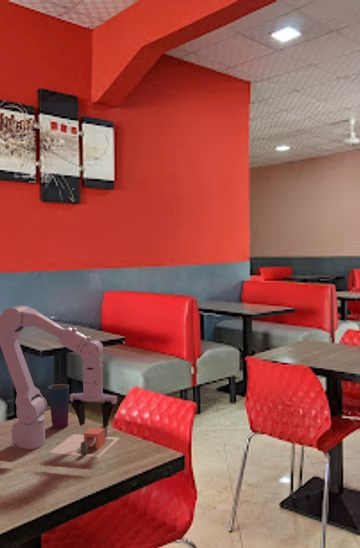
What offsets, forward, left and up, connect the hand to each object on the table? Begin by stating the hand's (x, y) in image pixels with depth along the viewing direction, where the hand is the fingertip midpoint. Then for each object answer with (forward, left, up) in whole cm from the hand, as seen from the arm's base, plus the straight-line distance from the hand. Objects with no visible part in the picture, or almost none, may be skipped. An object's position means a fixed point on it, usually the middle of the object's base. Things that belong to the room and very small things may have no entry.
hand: (93, 425), depth 160 cm
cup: (-19, +14, -8) cm, 25 cm away
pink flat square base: (-3, 0, -8) cm, 8 cm away
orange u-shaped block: (0, 0, -7) cm, 7 cm away
